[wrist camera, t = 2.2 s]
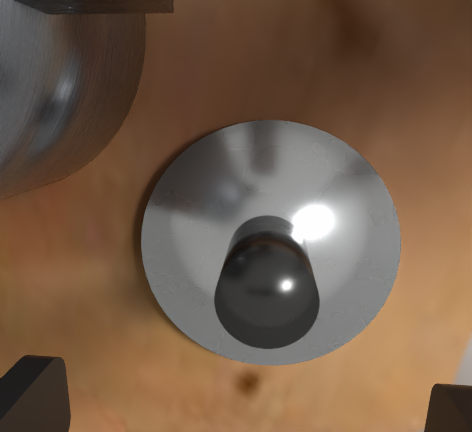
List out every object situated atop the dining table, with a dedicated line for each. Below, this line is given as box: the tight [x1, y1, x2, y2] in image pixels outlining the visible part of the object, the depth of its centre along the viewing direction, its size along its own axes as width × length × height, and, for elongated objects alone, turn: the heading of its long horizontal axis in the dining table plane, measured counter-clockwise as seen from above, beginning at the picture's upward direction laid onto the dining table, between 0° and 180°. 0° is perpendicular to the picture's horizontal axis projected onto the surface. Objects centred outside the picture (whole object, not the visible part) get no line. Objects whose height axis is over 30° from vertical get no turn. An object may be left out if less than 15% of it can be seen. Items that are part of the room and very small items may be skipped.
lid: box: [141, 120, 401, 365], centre depth 16 cm, size 12×12×6 cm
